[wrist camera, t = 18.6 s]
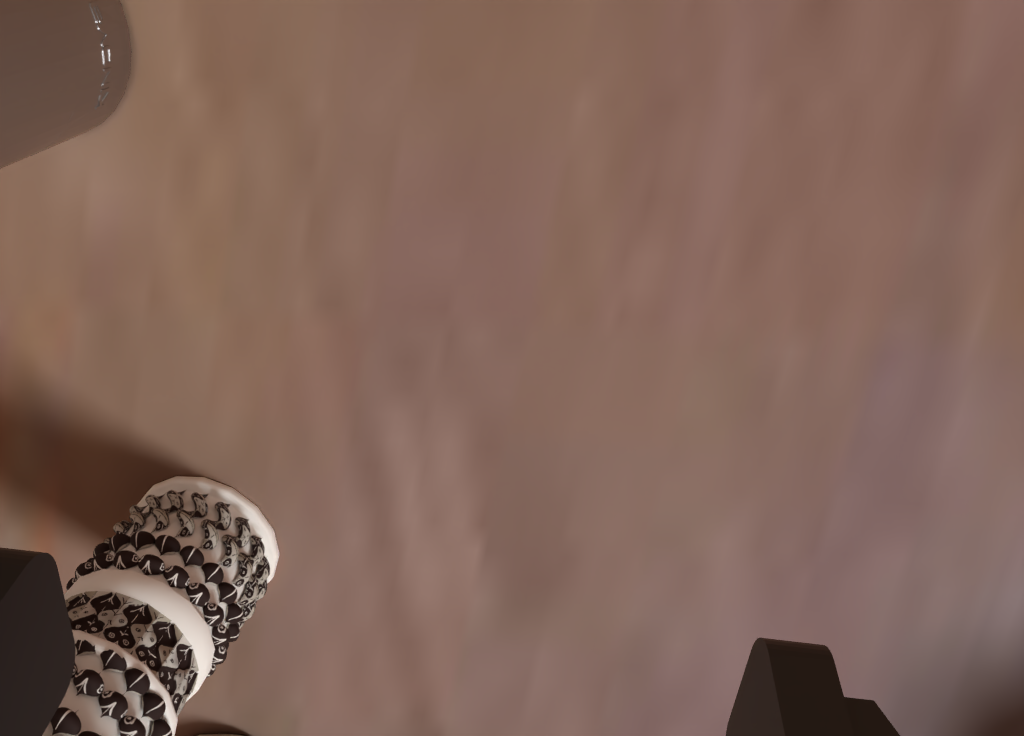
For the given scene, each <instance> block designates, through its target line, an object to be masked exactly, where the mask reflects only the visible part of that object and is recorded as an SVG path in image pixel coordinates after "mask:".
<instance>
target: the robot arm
mask: <svg viewBox="0 0 1024 736" xmlns="http://www.w3.org/2000/svg"><path fill="white" fill-rule="evenodd" d="M130 66H131V44H130V36H129V29H128V25H127V22H126V18H125V15H124V12H123V9H122V6H121V3H120V1H119V0H0V169H1V168H3V167H6V166H8V165H10V164H13V163H15V162H17V161H20V160H22V159H24V158H27V157H29V156H32V155H34V154H37V153H39V152H41V151H43V150H46V149H48V148H50V147H53V146H55V145H57V144H60V143H62V142H64V141H67V140H69V139H71V138H74V137H76V136H78V135H81V134H83V133H85V132H87V131H89V130H91V129H92V128H94V127H96V126H98V125H100V124H101V123H102V122H104V121H105V120H106V119H107V118H108V117H109V116H110V115H111V114H112V113H113V112H114V111H115V109H116V107H117V105H118V104H119V102H120V100H121V99H122V97H123V95H124V93H125V89H126V86H127V82H128V79H129V76H130ZM74 663H75V641H74V637H73V632H72V628H71V624H70V620H69V615H68V611H67V607H66V603H65V598H64V594H63V590H62V586H61V581H60V577H59V573H58V568H57V565H56V562H55V560H54V558H53V557H52V556H51V555H50V554H48V553H42V552H34V551H25V550H16V549H8V548H0V736H42V735H43V733H44V732H45V730H46V728H47V726H48V725H49V723H50V721H51V719H52V718H53V716H54V714H55V712H56V711H57V709H58V707H59V705H60V704H61V702H62V700H63V698H64V696H65V694H66V692H67V689H68V687H69V684H70V681H71V677H72V674H73V669H74ZM726 736H900V735H899V734H898V732H897V731H896V730H895V728H894V727H893V726H892V724H891V723H890V722H889V720H888V719H887V718H886V716H885V715H884V714H883V712H882V711H881V710H880V708H879V707H878V706H877V704H876V703H875V702H874V701H873V700H864V699H856V698H847V697H844V696H843V692H842V688H841V685H840V681H839V677H838V674H837V670H836V666H835V663H834V659H833V656H832V654H831V652H830V650H829V649H828V647H826V646H825V645H818V644H809V643H801V642H792V641H783V640H775V639H766V638H758V639H757V640H756V641H755V643H754V644H753V647H752V650H751V653H750V656H749V659H748V662H747V665H746V668H745V672H744V675H743V678H742V681H741V684H740V687H739V690H738V693H737V697H736V700H735V703H734V706H733V709H732V712H731V715H730V718H729V722H728V726H727V731H726Z"/></svg>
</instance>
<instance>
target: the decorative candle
mask: <svg viewBox="0 0 1024 736" xmlns="http://www.w3.org/2000/svg"><path fill="white" fill-rule="evenodd" d="M129 511H130V514H131V515H130V520H131V521H132V523H130V522H128V521H126V520H123V521H121V522H117V523H116V524H115V525H114V527H113V530H114V532H115V533H116V535H114V536H113V537H112V538H106V539H105V540H104V543H101V544H99V545H98V546H96V548H95V549H94V552H93V556H94V558H90V559H89V560H88V561H87V562H85V563H82V564H80V565H79V566H78V567H77V569H76V571H75V578H72V579H71V580H69V582H68V584H67V587H66V589H67V592H66V593H65V594H64V598H65V603H66V607H67V611H68V615H69V620H70V624H71V628H72V632H73V637H74V641H75V663H74V669H73V674H72V677H71V681H70V684H69V687H68V689H67V692H66V694H65V696H64V698H63V700H62V702H61V704H60V705H59V707H58V709H57V711H56V712H55V714H54V716H53V718H52V719H51V721H50V723H49V725H48V726H47V728H46V730H45V732H44V733H43V735H42V736H175V732H176V727H177V722H178V718H177V717H178V715H179V713H180V711H181V710H182V709H183V707H184V705H185V703H186V702H187V701H188V700H189V699H190V698H191V697H192V696H193V695H194V694H195V693H196V692H197V691H198V690H199V688H200V686H201V685H202V683H203V682H204V680H205V678H207V677H209V676H211V675H212V674H213V673H214V671H215V669H216V665H217V664H221V663H223V662H224V661H225V659H226V656H227V649H228V647H229V642H233V641H236V640H237V638H238V637H239V633H240V631H239V629H240V628H241V627H242V626H243V624H244V622H245V620H248V619H249V618H251V616H252V615H253V613H254V611H255V608H256V602H257V600H259V599H261V598H262V597H263V596H264V595H265V593H266V590H267V583H268V582H269V581H270V580H271V579H272V578H273V576H274V574H275V570H276V566H277V562H278V559H279V555H280V553H279V549H278V545H277V541H276V536H275V532H274V529H273V528H272V526H271V525H270V524H269V522H268V521H267V519H266V518H265V516H264V515H263V514H262V512H261V511H260V509H259V508H258V506H256V505H255V504H254V503H252V502H251V501H250V500H248V499H247V498H246V497H244V496H243V495H242V494H240V493H239V492H238V491H237V490H235V489H234V488H232V487H229V486H227V485H224V484H221V483H219V482H216V481H213V480H211V479H208V478H205V477H187V476H175V477H173V478H170V479H167V480H165V481H162V482H160V483H157V484H155V485H153V486H152V487H151V488H150V490H149V491H148V492H147V493H146V494H145V496H144V497H143V498H142V499H141V500H140V502H139V503H138V504H137V505H132V506H131V507H130V510H129Z"/></svg>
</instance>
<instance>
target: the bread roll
mask: <svg viewBox="0 0 1024 736" xmlns="http://www.w3.org/2000/svg"><path fill="white" fill-rule="evenodd" d="M198 736H244V735H236V734H206V735H198Z"/></svg>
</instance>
